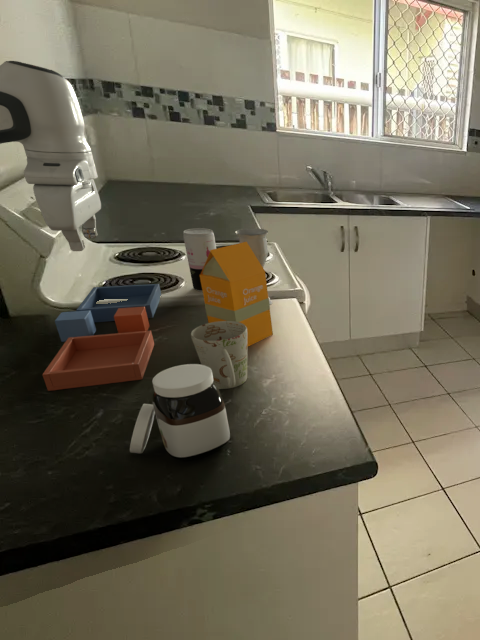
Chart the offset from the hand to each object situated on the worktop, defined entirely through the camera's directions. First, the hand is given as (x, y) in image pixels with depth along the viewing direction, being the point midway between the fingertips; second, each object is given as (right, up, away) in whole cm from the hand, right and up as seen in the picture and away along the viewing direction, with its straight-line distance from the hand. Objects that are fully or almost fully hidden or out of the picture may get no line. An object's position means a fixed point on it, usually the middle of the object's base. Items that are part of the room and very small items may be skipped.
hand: (85, 243), depth 90 cm
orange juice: (+24, -18, +10) cm, 32 cm away
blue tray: (-7, -11, +18) cm, 22 cm away
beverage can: (+2, -5, +34) cm, 34 cm away
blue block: (-5, -18, +5) cm, 19 cm away
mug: (+32, -27, -6) cm, 42 cm away
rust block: (+3, -17, +9) cm, 19 cm away
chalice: (+19, -10, +28) cm, 35 cm away
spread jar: (+33, -34, -22) cm, 52 cm away
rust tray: (+8, -23, -4) cm, 25 cm away
